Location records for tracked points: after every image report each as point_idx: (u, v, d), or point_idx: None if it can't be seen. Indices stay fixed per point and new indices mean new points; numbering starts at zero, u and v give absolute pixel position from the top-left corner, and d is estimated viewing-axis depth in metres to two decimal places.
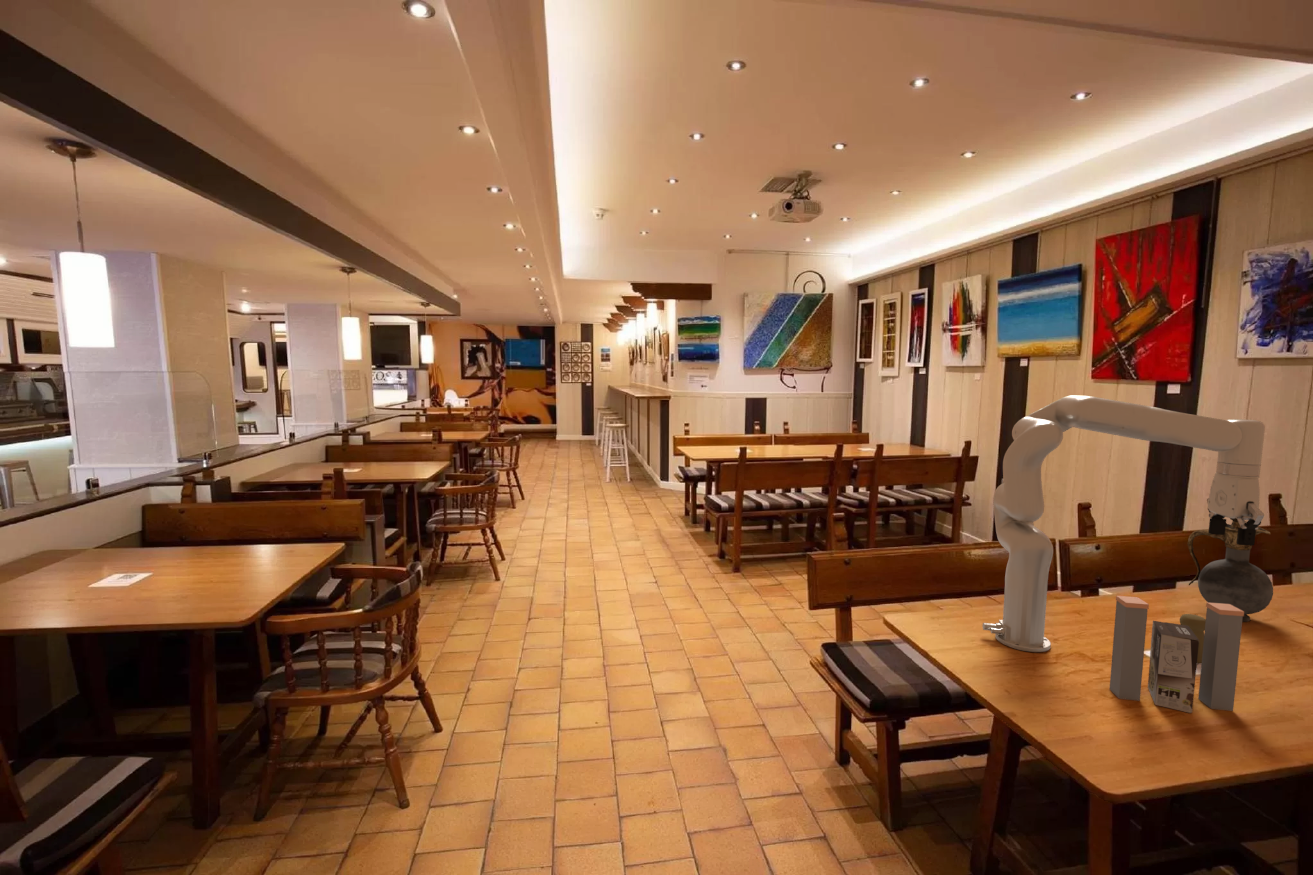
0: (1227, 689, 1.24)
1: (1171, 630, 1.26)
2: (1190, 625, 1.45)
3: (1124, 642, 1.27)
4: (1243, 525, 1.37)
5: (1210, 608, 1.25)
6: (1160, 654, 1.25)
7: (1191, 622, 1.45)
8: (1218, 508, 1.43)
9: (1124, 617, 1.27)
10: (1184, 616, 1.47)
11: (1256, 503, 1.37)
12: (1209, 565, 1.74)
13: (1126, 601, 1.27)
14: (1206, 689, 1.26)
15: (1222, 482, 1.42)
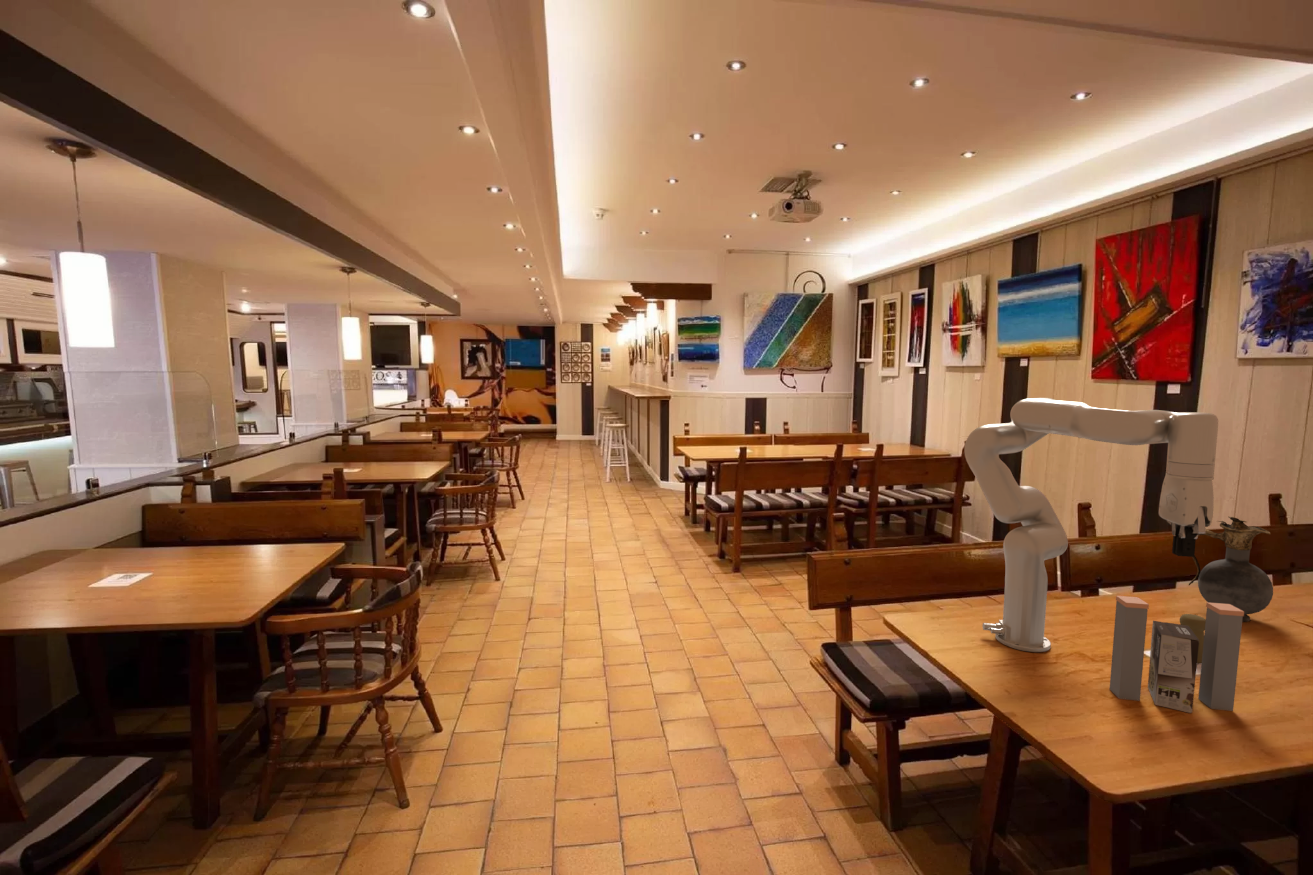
0: (1227, 689, 1.24)
1: (1171, 630, 1.26)
2: (1190, 625, 1.45)
3: (1124, 642, 1.27)
4: (1182, 535, 1.23)
5: (1210, 608, 1.25)
6: (1160, 654, 1.25)
7: (1191, 622, 1.45)
8: (1169, 514, 1.25)
9: (1124, 617, 1.27)
10: (1184, 616, 1.47)
11: (1210, 508, 1.19)
12: (1209, 565, 1.74)
13: (1126, 601, 1.27)
14: (1206, 689, 1.26)
15: (1173, 484, 1.24)
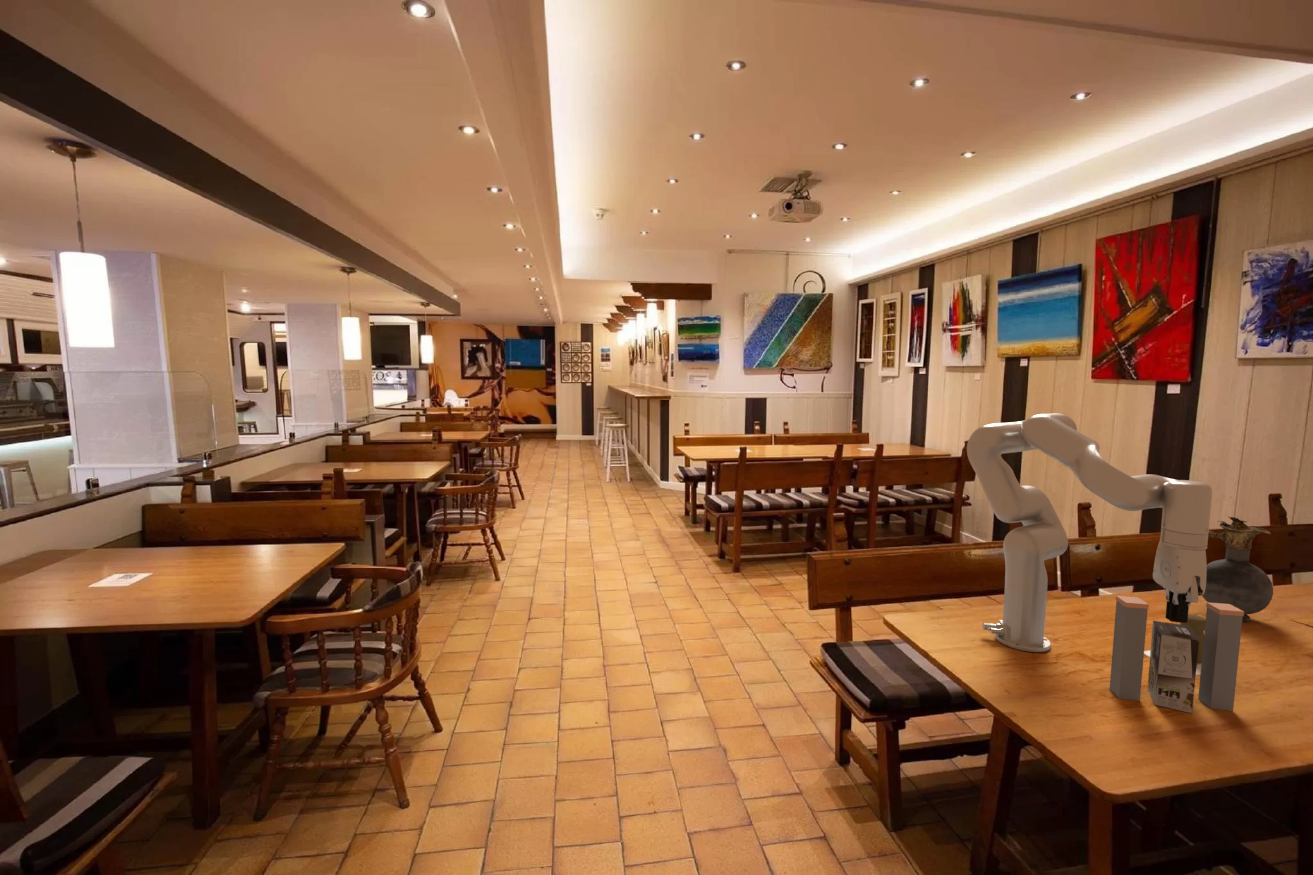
0: (1227, 689, 1.24)
1: (1171, 630, 1.26)
2: (1190, 625, 1.45)
3: (1124, 642, 1.27)
4: (1175, 602, 1.25)
5: (1210, 608, 1.25)
6: (1160, 654, 1.25)
7: (1191, 622, 1.45)
8: (1163, 580, 1.27)
9: (1124, 617, 1.27)
10: None
11: (1203, 578, 1.20)
12: (1209, 565, 1.74)
13: (1126, 601, 1.27)
14: (1206, 689, 1.26)
15: (1167, 551, 1.26)
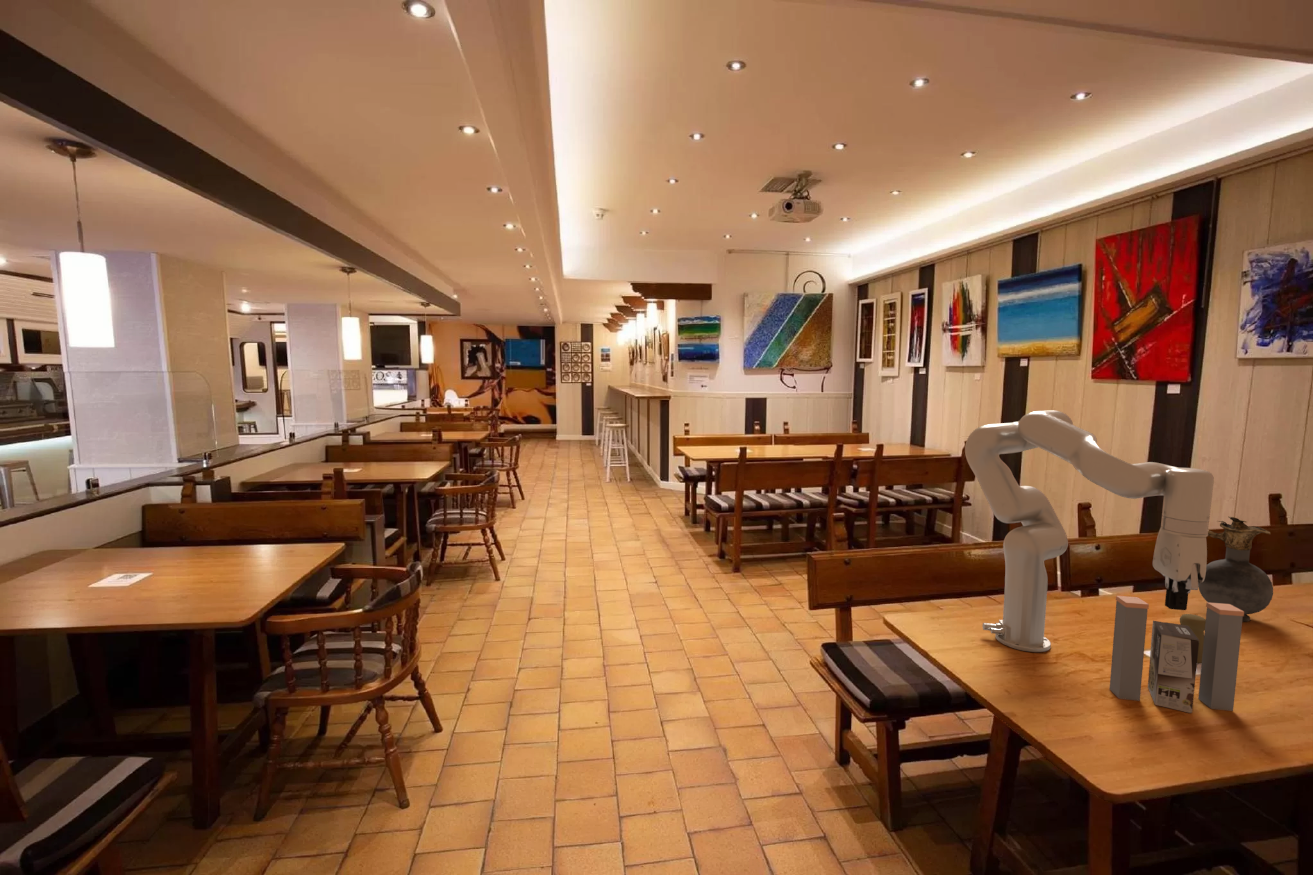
0: (1227, 689, 1.24)
1: (1171, 630, 1.26)
2: (1190, 625, 1.45)
3: (1124, 642, 1.27)
4: (1174, 589, 1.25)
5: (1210, 608, 1.25)
6: (1160, 654, 1.25)
7: (1191, 622, 1.45)
8: (1163, 567, 1.27)
9: (1124, 617, 1.27)
10: (1184, 616, 1.47)
11: (1203, 565, 1.20)
12: (1209, 565, 1.74)
13: (1126, 601, 1.27)
14: (1206, 689, 1.26)
15: (1167, 539, 1.25)
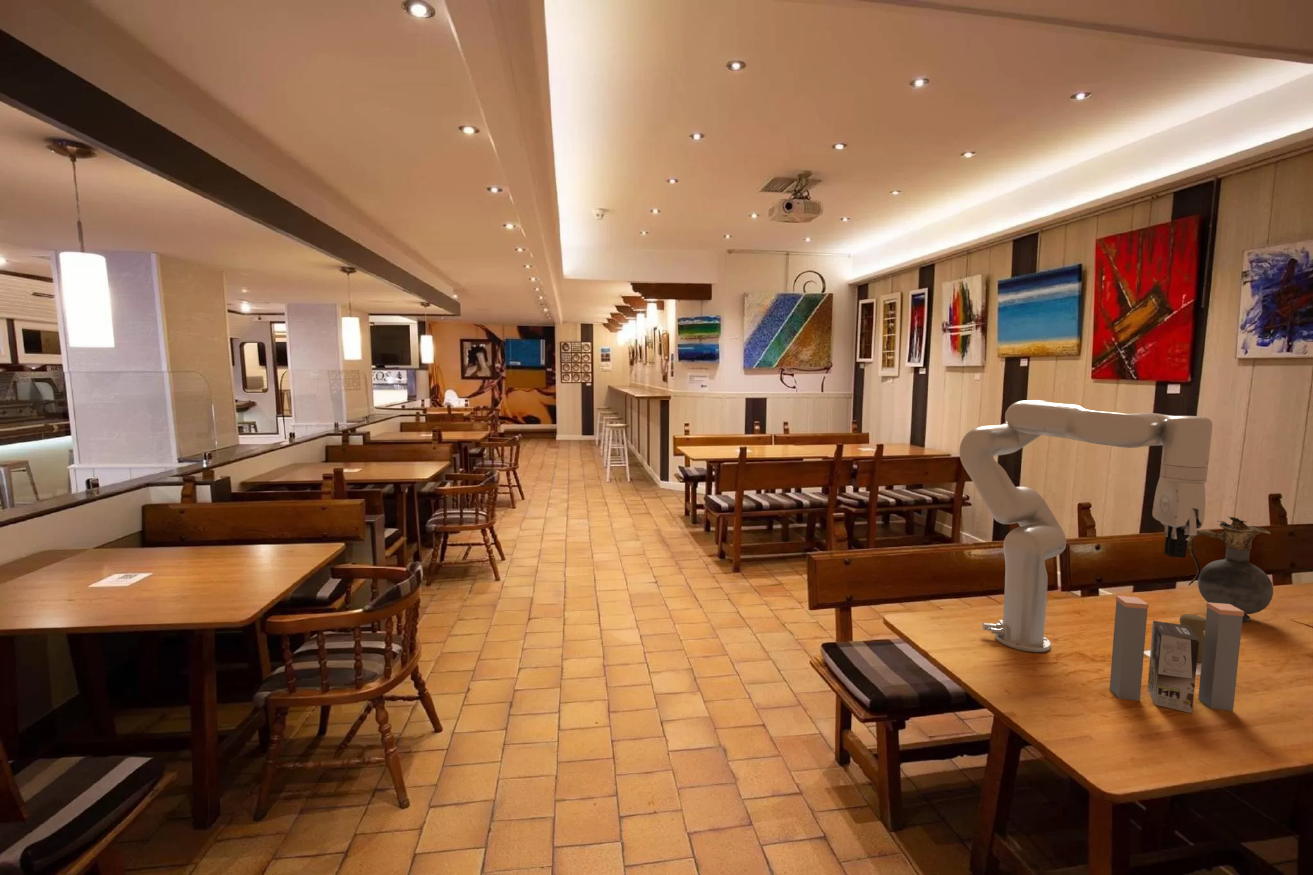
0: (1227, 689, 1.24)
1: (1171, 630, 1.26)
2: (1190, 625, 1.45)
3: (1124, 642, 1.27)
4: (1173, 536, 1.26)
5: (1210, 608, 1.25)
6: (1160, 654, 1.25)
7: (1191, 622, 1.45)
8: (1162, 515, 1.27)
9: (1124, 617, 1.27)
10: (1184, 616, 1.47)
11: (1201, 510, 1.21)
12: (1209, 565, 1.74)
13: (1126, 601, 1.27)
14: (1206, 689, 1.26)
15: (1166, 486, 1.26)
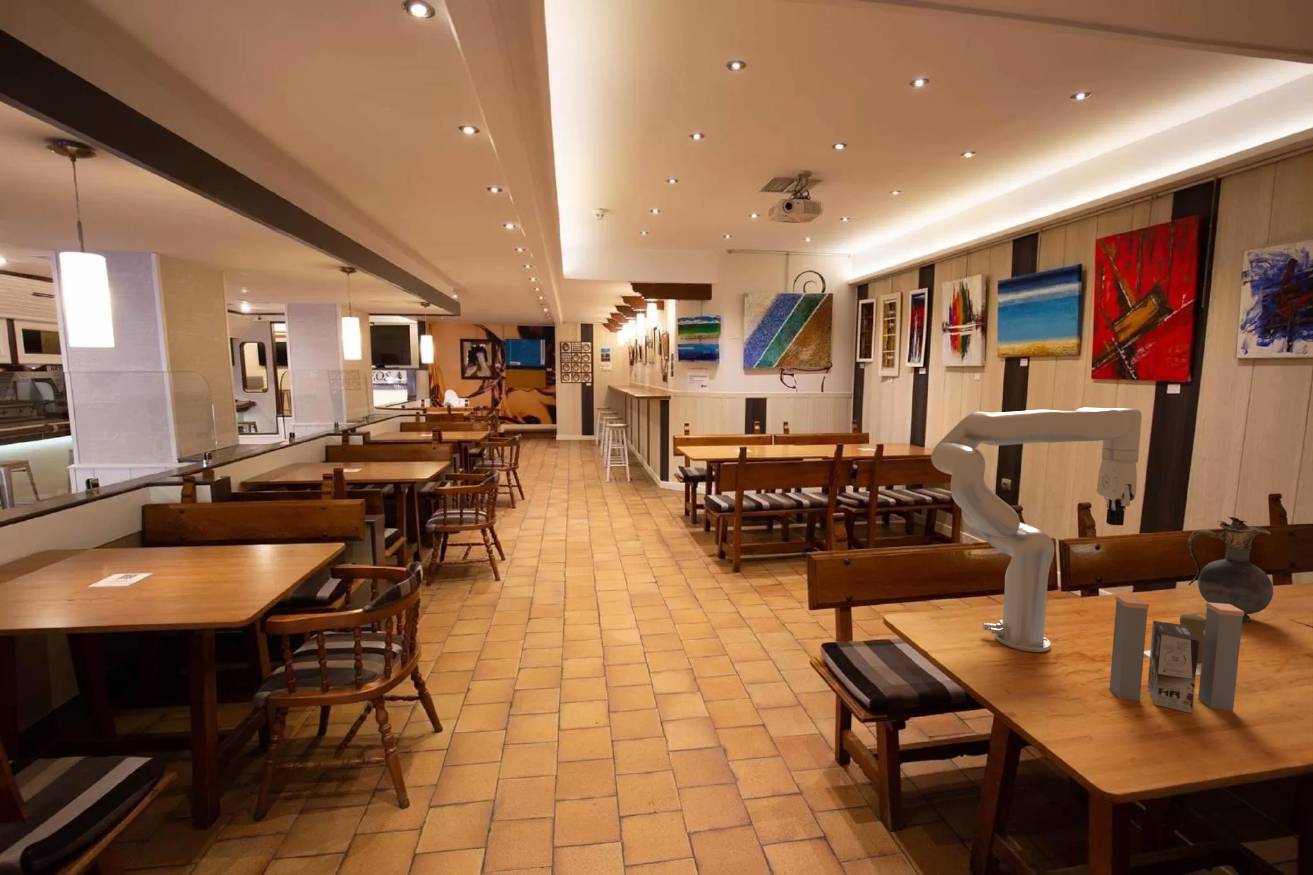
0: (1227, 689, 1.24)
1: (1171, 630, 1.26)
2: (1190, 625, 1.45)
3: (1124, 642, 1.27)
4: (1113, 508, 1.52)
5: (1210, 608, 1.25)
6: (1160, 654, 1.25)
7: (1191, 622, 1.45)
8: (1103, 491, 1.54)
9: (1124, 617, 1.27)
10: (1184, 616, 1.47)
11: (1133, 485, 1.47)
12: (1209, 565, 1.74)
13: (1126, 601, 1.27)
14: (1206, 689, 1.26)
15: (1106, 466, 1.53)
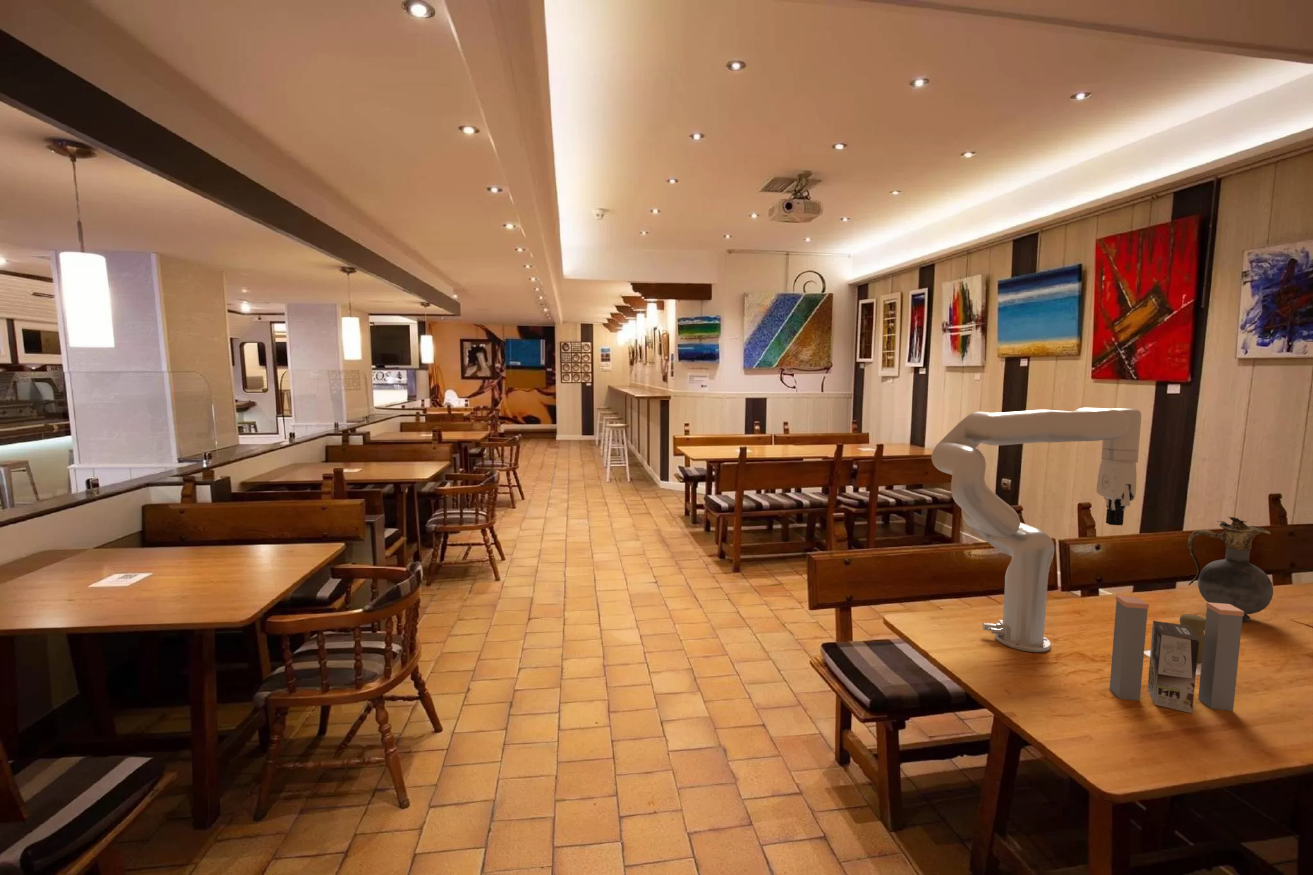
0: (1227, 689, 1.24)
1: (1171, 630, 1.26)
2: (1190, 625, 1.45)
3: (1124, 642, 1.27)
4: (1112, 508, 1.52)
5: (1210, 608, 1.25)
6: (1160, 654, 1.25)
7: (1191, 622, 1.45)
8: (1103, 491, 1.54)
9: (1124, 617, 1.27)
10: (1184, 616, 1.47)
11: (1133, 485, 1.48)
12: (1209, 565, 1.74)
13: (1126, 601, 1.27)
14: (1206, 689, 1.26)
15: (1106, 466, 1.53)
